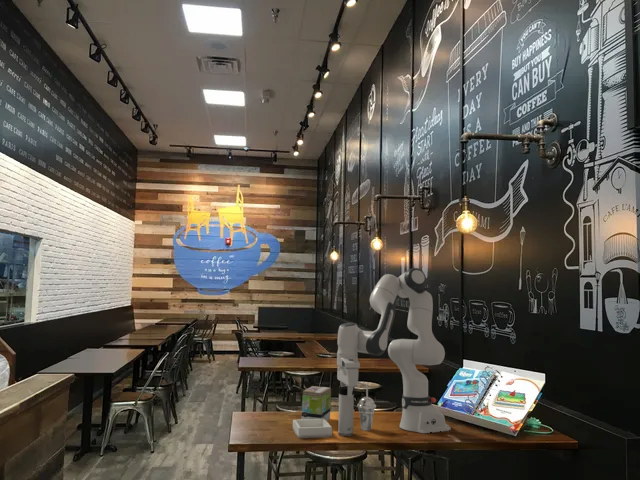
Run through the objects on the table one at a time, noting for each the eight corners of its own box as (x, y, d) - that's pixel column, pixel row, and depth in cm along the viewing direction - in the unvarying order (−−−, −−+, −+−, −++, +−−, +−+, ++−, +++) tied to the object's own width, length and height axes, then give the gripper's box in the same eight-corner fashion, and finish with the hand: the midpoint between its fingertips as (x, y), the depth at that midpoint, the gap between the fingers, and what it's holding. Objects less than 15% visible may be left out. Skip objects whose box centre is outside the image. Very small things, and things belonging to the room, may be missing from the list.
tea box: (322, 426, 226) (322, 392, 228) (300, 424, 229) (301, 390, 231) (330, 418, 241) (331, 386, 242) (310, 416, 243) (311, 385, 245)
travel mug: (352, 437, 210) (353, 387, 213) (337, 435, 212) (338, 386, 214) (354, 433, 217) (355, 385, 219) (339, 431, 218) (340, 384, 220)
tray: (324, 428, 223) (324, 418, 224) (331, 437, 210) (331, 427, 210) (292, 429, 220) (292, 419, 221) (298, 438, 207) (298, 428, 207)
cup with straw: (367, 433, 217) (367, 385, 219) (351, 428, 224) (352, 382, 226) (379, 429, 223) (380, 383, 225) (364, 425, 230) (365, 380, 232)
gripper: (334, 358, 227) (333, 389, 225) (346, 364, 207) (345, 399, 205) (347, 358, 228) (347, 389, 227) (361, 364, 208) (360, 398, 207)
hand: (346, 394), depth 216 cm, fingers open, 8 cm apart
